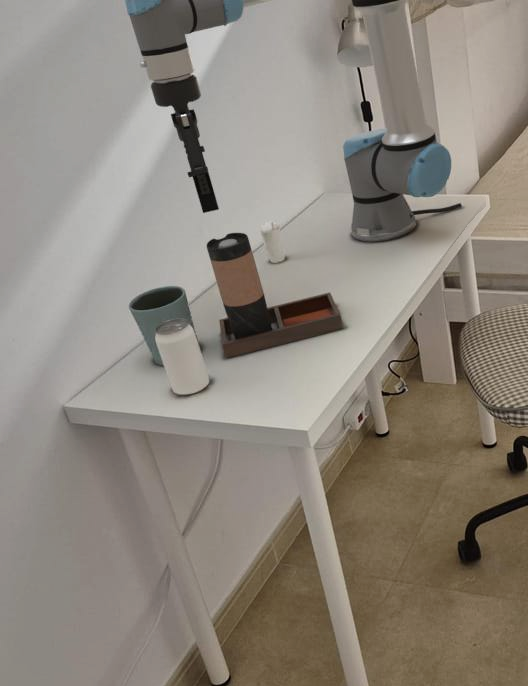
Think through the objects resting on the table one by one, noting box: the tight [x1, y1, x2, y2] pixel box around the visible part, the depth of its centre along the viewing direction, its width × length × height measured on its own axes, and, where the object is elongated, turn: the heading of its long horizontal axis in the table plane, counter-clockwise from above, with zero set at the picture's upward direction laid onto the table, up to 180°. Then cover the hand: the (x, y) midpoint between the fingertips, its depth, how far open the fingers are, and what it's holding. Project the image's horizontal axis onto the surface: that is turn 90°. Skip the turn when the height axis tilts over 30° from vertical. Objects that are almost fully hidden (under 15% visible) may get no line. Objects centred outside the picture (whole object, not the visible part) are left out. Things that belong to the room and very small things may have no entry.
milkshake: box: [258, 220, 286, 264], centre depth 197 cm, size 5×5×10 cm
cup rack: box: [218, 291, 344, 359], centre depth 166 cm, size 11×22×3 cm, turn 107°
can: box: [155, 318, 210, 396], centre depth 149 cm, size 6×6×12 cm
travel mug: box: [206, 232, 273, 340], centre depth 161 cm, size 8×8×20 cm
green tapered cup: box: [128, 285, 201, 367], centre depth 161 cm, size 10×10×12 cm
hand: (207, 200), depth 155 cm, fingers open, 13 cm apart
